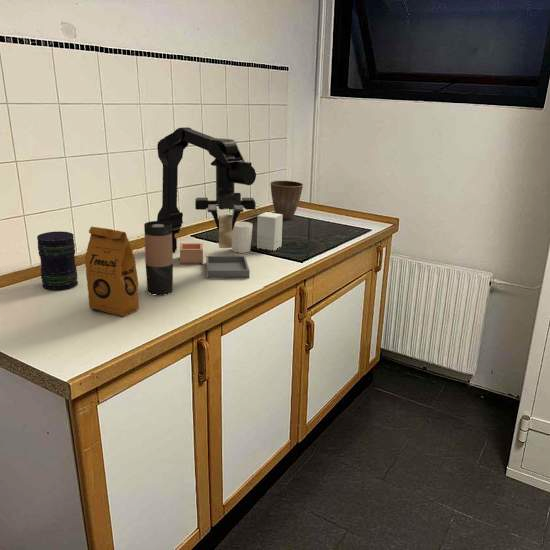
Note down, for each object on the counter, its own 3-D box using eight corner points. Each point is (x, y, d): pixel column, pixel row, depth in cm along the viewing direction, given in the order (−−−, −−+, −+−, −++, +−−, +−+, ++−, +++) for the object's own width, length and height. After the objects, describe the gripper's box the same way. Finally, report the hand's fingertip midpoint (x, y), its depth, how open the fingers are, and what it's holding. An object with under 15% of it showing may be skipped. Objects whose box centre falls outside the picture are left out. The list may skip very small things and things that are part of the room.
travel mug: (178, 288, 158) (176, 222, 151) (165, 297, 151) (163, 228, 144) (155, 284, 160) (153, 219, 153) (141, 293, 153) (138, 225, 146)
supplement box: (282, 246, 204) (283, 214, 199) (273, 251, 197) (275, 217, 193) (264, 243, 207) (265, 211, 202) (256, 248, 200) (257, 215, 196)
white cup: (253, 248, 200) (253, 222, 197) (250, 254, 193) (250, 227, 189) (232, 246, 201) (232, 220, 197) (228, 252, 193) (228, 226, 190)
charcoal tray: (207, 278, 167) (207, 270, 166) (206, 262, 181) (206, 255, 180) (249, 277, 169) (249, 270, 168) (244, 262, 183) (245, 255, 182)
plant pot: (299, 214, 256) (301, 181, 251) (302, 222, 242) (304, 186, 237) (268, 213, 255) (269, 180, 250) (269, 221, 241) (271, 185, 236)
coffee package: (120, 321, 135) (115, 237, 127) (83, 311, 140) (76, 229, 132) (146, 308, 143) (142, 228, 136) (110, 298, 148) (104, 221, 141)
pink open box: (180, 264, 179) (179, 249, 177) (180, 257, 186) (180, 243, 184) (202, 263, 180) (202, 249, 178) (202, 257, 187) (202, 243, 186)
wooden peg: (219, 248, 171) (219, 217, 167) (218, 244, 174) (218, 214, 171) (231, 247, 171) (231, 217, 168) (231, 244, 175) (231, 214, 172)
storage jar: (41, 281, 159) (36, 232, 154) (76, 277, 163) (72, 230, 158) (42, 292, 150) (36, 241, 145) (79, 289, 154) (75, 239, 149)
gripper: (195, 185, 157) (196, 236, 162) (258, 185, 160) (257, 236, 165) (194, 179, 167) (195, 228, 173) (254, 179, 170) (253, 227, 175)
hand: (225, 230), depth 171 cm, fingers closed on wooden peg, 4 cm apart
